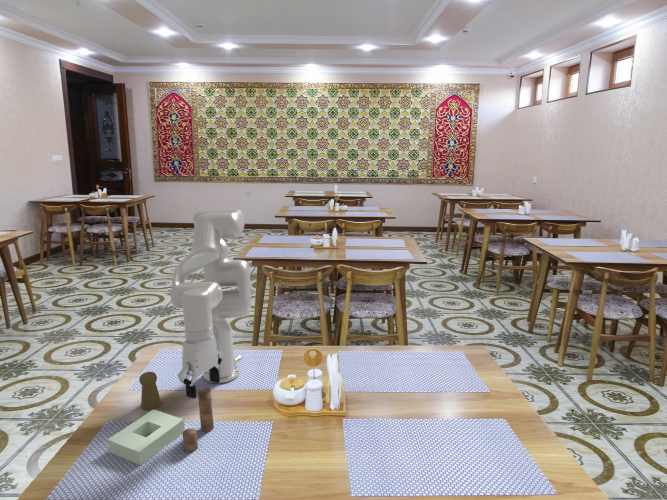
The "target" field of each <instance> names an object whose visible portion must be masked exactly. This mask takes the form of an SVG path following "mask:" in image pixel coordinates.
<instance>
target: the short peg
mask: <svg viewBox="0 0 667 500" xmlns="http://www.w3.org/2000/svg"><path fill="white" fill-rule="evenodd" d="M182 441H183V443H182V444H183V450H184V452H186V453H187V454H188V453H189V454H191V453H194V452H195V451H197V450H198V435H197V429H195V428H193V427H192V428H191V427H190V428H186V429H185V431H184V432H183V433H182Z"/></svg>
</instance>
